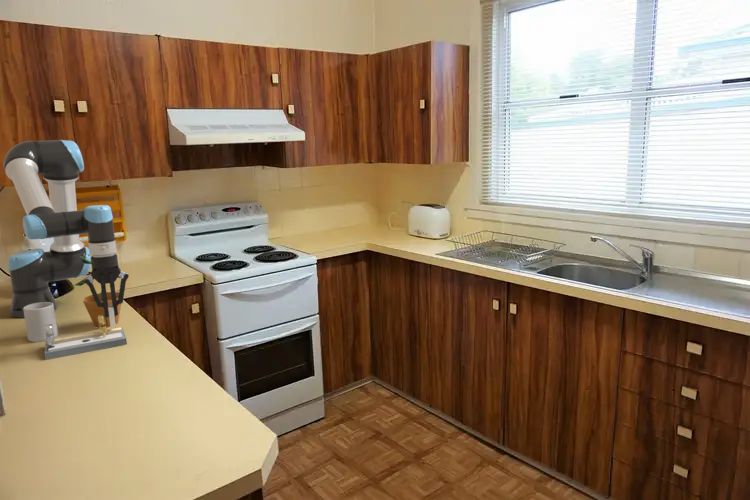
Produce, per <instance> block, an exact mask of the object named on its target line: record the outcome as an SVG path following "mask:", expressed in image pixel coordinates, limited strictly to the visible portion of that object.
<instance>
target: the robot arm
mask: <svg viewBox="0 0 750 500" xmlns="http://www.w3.org/2000/svg"><path fill="white" fill-rule="evenodd" d="M84 164H85V163H84V159H83V156H82V152H81V150H80V147H79V145H78V144H77V143H76V142H75V141H73V140H65V139H64V140H63V139H49V140H47V139H46V140H26V141H22V142H19V143H17V144H15V145H14V146H13V147H11V148H10V149H9V150H8V152H6V154H5V156H4V159H3V170H4V173H5V174H6V177H8V179H10V181H12V183H13V186H14V187H15V191H16V192H17V194H18V198H19V200H20V202H21V205H22V207H23V209H24V212H25V214H26V215H24V216H23V218H22V227H23V232H24V235H25V237H26V238H27V239H28V240H45V239H51V238H53V242H52V243H51V244H50V245H49V251H44V250H43V248H34V249H33V248H32V249H26V250H22V251H19V252H17V253H14V254H12V255H10V256H9V257H8V259H7V266H8V268H7V270H8V272H9V278H10V283H11V290H12V297H11V298H12V299H11V303H10V307H9V312H10V316H11V318H18V319H19V318H21V319H23V318H24V319H25V317H24V311H23V308H24V307H25V306H27V305H30V304H34V303H40V302H51V303H53V305H54V312H55V311H56V310H57V309H58V304H57V301H56V298H55V297H54V296H53V294H52V291H51V290H50V287H49V283H50V282H57V281H62V280H63V281H65V280H69V279H71V280H72V279H77V278H79V277H81V278H82V277H84V278H83V279H84V281H85V284H86V285H87V286H88V287H89V290H90V292H91V295H93V297H94V299H95V301H96V304H97V306H98V307H103V308H104V313H105V317H109V320H110V326H111V327H110V328H114V327H115V328H117V327H116V325H117V324H115V316H118V309H117V306H118V305H119V304H121V305H122V304H123V303H124V298H125V297H124V296H125V291H126V290H125V289H126V285H127V284H126V283H127V280H128V278H129V273H128V272H124V271H122V270H121V268H120V267H119V259H118V255H117V252H118V251H117V243H116V238H115V237H116V236H115V227H114V220H113V219H114V216H113V213H112V208H111V206H109V205H108V204H98V205H97V204H95V205H88V206H86V207H84V208H83V209H80V210H78V208H77V207H78V206H77V194H76V193H77V192H76V181H77V180H78V179H79V178H80V175H79V174H80V173H82V172H84V171H85V165H84ZM39 175H42V179H43V180H45V181H46V182H47V183H48V193H49V194H47V192H46V190H45V187H44V185H43V182H42V181H41V179H40V177H39ZM48 195H49V196H48ZM85 234H86V235H87V240H88V247H87V246H85V243H84V242H82V241H81V240H80V235H85ZM80 256H81V257H83V258H84V259H86V260H88V261H91V264H85V263H84V262H83V260H82V259H81V257H80ZM90 269H91V272H90ZM89 272H90V275H89V276H87V275H88V274H89ZM85 276H87V277H88V278H87V277H85ZM118 276H120V278H119V279H120V283H119V291H118V292H119V297H118V300H116V293H115V292H116V285H115V282H116V281H117V279H118ZM93 278H94V280H95V281H96V282H97V283H98V284H100V288H101V289H100V290H102V298H103V302H100V299H99V297H98V295H97V294H98V293H97V291H96V290H97V289H96V288H95V286H94V280H93ZM106 284H109V288H110V292H111V298H112V305H110V306H108V301H107V293H106V292H107V288H106V287H107V286H106Z"/></svg>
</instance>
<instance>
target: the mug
mask: <svg viewBox="0 0 750 500" xmlns="http://www.w3.org/2000/svg"><path fill="white" fill-rule="evenodd" d="M23 311H24V317H25V318H24V322H25V328H26V337H27V341H28V342H30V343H40V342H41V343H42V342H46V332H45V325H47V324H52V327H53V333H54V338H55V339H56V338H58V336H59V332H58V326H57V321H56V320H57V319H56V313H55V311H54V305H53V303H51V302H40V303H34V304H30V305H27V306H25V307H24V308H23Z"/></svg>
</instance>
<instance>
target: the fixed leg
mask: <svg viewBox="0 0 750 500" xmlns="http://www.w3.org/2000/svg"><path fill="white" fill-rule="evenodd" d="M45 332H46V341H45V343H46V342H47V343H48V344H49V347H51V346H52V342H54V339H56V337H55V338H54V333H53V327H52V324H47V325H45Z"/></svg>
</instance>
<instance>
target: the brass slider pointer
mask: <svg viewBox="0 0 750 500" xmlns="http://www.w3.org/2000/svg"><path fill="white" fill-rule="evenodd" d="M98 322H99V328H98V330H99V331H100V333H103V337H105V336H106V334H105V332H107V330H108V329H107V328H108V327H107V328H106V322H105V315H99V316H98Z"/></svg>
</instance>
